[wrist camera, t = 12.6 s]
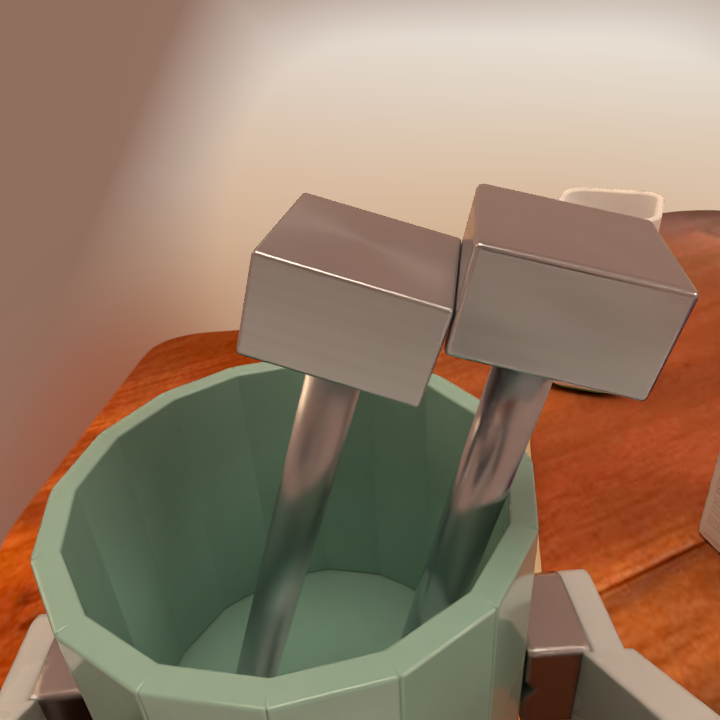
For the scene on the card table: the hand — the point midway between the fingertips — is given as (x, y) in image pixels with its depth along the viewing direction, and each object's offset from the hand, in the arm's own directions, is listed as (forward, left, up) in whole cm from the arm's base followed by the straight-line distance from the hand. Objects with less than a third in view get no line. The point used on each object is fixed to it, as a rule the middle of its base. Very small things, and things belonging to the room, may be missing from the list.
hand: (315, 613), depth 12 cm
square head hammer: (-1, -1, -1) cm, 2 cm away
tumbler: (0, -1, -5) cm, 5 cm away
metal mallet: (+2, -1, -1) cm, 2 cm away
